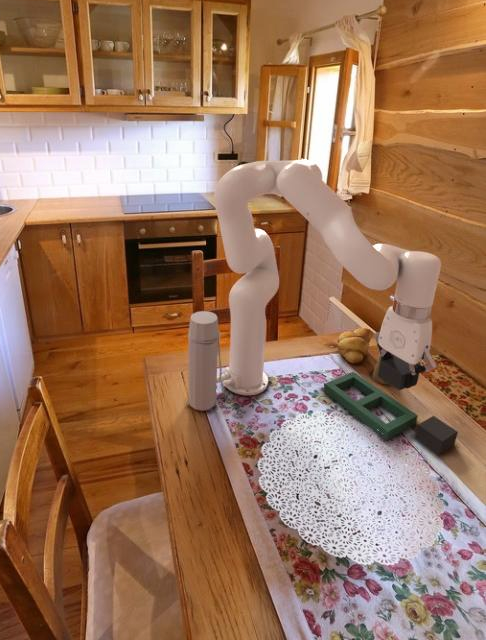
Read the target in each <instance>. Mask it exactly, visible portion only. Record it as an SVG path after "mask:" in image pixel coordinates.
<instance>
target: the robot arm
mask: <svg viewBox="0 0 486 640" xmlns="http://www.w3.org/2000/svg"><path fill="white" fill-rule="evenodd" d="M265 195H281V196H282V197H283V198H284V200H286V202H288V203H289V204H290V205H291V207H293V208H294V209H295V210H296V211H297V212H298V213H299V214H301V216H302V217H304V219H306V220H307V222H309V223H310V224H311V226H312V227H313V228H314V229H315V230H316V231H318V233H319V235H320V236H321V237H322V239H323V241H324V243H325V244H326V246H327V247H328V249H329V250H330V251H331V253H332V255H333V256H334V257H335V259H336V260H337V261H338V263H339V264H340V265H341V266H342V267H343V268H344V269H346V271H347V272H348V273H349V274H350V275H351V276H352V277H353V278H354V279H355V280H357V282H358V283H360V284H361V285H362V286H364V287H366V288H367V289H369V290H373V291H385V290H387V289H389V288H390V287H392V286H393V285H394V284H395V283H396V286H395V293H394V294H391V295H390V296H389V300H390V301H391V302H392V305H391V306H389V307H388V309H387V311H386V313H385V315H384V318H383V319H382V323H381V327H380V330H379V331H377V332H375V333H373V334H372V336H373V338H374V340H375V342H376V344H377V348H378V351H379V350H380V353H379V356H380V355H381V356H382V357H381V361H384V360H386V359H389V358H391V357H393V355H395V356H397V357H398V358H400V359H402V360H404V361H405V362H407V363H409V368H410V372H408V373H407V377H406V382H405V388H404V389H407V390H408V389H410V388H412V387H415V386H417V384H418V380H419V377H420V374H422V373H425V372H428V371H433V370H435V369H436V368H437V364H436V362H435V360H434V358H433V356H432V354H431V352H430V350H431V345H432V339H433V320H432V318H430V317H431V313H432V308H433V304H434V300H435V296H436V290H437V286H438V281H439V277H440V273H441V270H442V269H441V268H442V261H441V259H440V258H439V256H437V255H435V254H433V253H430V252H426V251H420V250H413V251H412V250H408V249H404V248H401V247H398V246H395V245H391V244H387V243H377V244H374V245H373V244H372V243H371V242H370V241H369V239H367V238H366V237H365V235H364V234H363V232H361V230H360V228H359V227H358V225H357V223H356V221H355V218H354V214H353V211H352V209H351V207H350V206H349V204H348V203H347V201H345V200H344V199H343V198H342V197H340V196H339V194H337V193H336V191H334V190H333V189H332V187H330V186H329V185H328V184H327V183H326V182H325V181H324V180H323V172H322V170H321V168H320V167H319V166H318V164H316V163H315V162H313V161H311V160H308V159H296V160H293V159H292V160H257V161H253V162H248V163H244V164H240V165H236V166H235V167H233V168H231V169H230V170H229V171H227V172H226V173H224V174H223V175H222V176H221V178H220V179H219V180H218V181H217V183H216V186H215V189H214V193H213V203H214V208H215V211H216V215H217V220H218V225H219V231H220V235H221V240H222V247H223V250H224V255H225V260H226V263H227V267H229V269H230V270H231V271H232V272H233V273H234V274H235V273H236V274H239V275H243V274H244V275H243V276H242V277H240V278H239V279H238V280H237V281H236V282H235V283H234V284H233V286H232V287H231V289H230V290H229V294H228V305H229V313H230V336H229V337H230V339H229V364H228V366H227V367H225V371H223V372H222V376H221V381H220V382H218V383H217V384H220V383H222V386H223V387H225V388H226V389H227V390H228V391H230V392H232V393H234V394H236V395H241V396H255V395H258V394H261V393H263V392H264V391H265V390H266V389H267V388H268V386H269V377H268V375H267V373H265V372H266V371H264V367H265V355H266V354H265V353H266V338H267V317H266V308H267V307H266V306H267V305H268V303H269V302H271V300H272V299H273V297H274V296H275V295H276V294H277V292H278V290H279V287H280V276H279V275H280V274H279V270H278V264H277V259H276V253H275V247H274V244H273V242H272V239H271V237H270V235H269V234H268V233H266V232H265V230H262V229H260V228H255V222H254V217H253V215H252V214H253V213H252V211H251V210H250V208H249V205H248V204H249V202H251V201H253V200H255V199H257V198H259V197H262V196H265ZM391 353H392V354H391ZM422 360H423V362H424V363H425V364H423V362H422ZM219 375H220V374H217V381H218V380H219Z"/></svg>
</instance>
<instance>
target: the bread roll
mask: <svg viewBox="0 0 486 640" xmlns="http://www.w3.org/2000/svg"><path fill="white" fill-rule="evenodd" d="M371 339H372V332H371V331H370V329H369V328H367V327H360V328H357V329H355V330H354V331H344V332H342V333H341V334H340V335H339V336H338V338H337V350H338V353H339V354H340V355H341V356H342V357H344V358H345V360H346V361H347V362H349V363H351V364H359V363H361V362H362V361H363V359H364V358H365V357H367V355H368V354H369V348H370V342H371Z"/></svg>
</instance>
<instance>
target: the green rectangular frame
mask: <svg viewBox="0 0 486 640" xmlns="http://www.w3.org/2000/svg"><path fill="white" fill-rule="evenodd" d="M350 386H354V387H355V388H357V389H358V390H359V391H360V392H362V393H363V394H364V395H366V396H364V397H362V398H359V399H357V400H355V399H354V398H353V397H352V396H350V395H349V394H348V393H346V392H345V391H344V389H345V388H348V387H350ZM323 392H324V393H326V394H327V395H328V396H329V397H331V399H333V400H334V401H336V402H337V403H338V404H339V405H340V406H342V407H343V408H345V409H346V410H347V411H348V412H350V413H351V414H352V415H353V416H354V417H356V418H357V419H359V420H360V421H361V422H362V423H364V424H365V425H366V426H368V427H369V428H370V429H371V430H373V431H374V432H375V433H376V434H378V435H379V436H380V437H382V438H383V439H384V440H385V441H388V440H389V439H392V438H393V437H395V436H396V435H399V434H400V433H402V432H404V431H406V430H408V429H409V428H411V427H413V426H414V425H416V424H417V421H418V416H419V415H418V414H416V413H415V412H413V411H412V410H411V409H409V408H408V407H406V406H405V405H404V404H402V403H400V402H399V401H397V400H396V399H394V398H393V397H392V396H391V395H389V394H387V393H386V392H384V391H382V390H381V389H380V388H378V387H377V386H375V385H374V384H372V383H371V382H369V381H368V380H366V379H365V378H364V377H362V376H360V375H359V374H358V373H356V372H355V371H350V372H349V373H346V374H343V375H342V376H339V377H336V378H334V379H332V380H330V381H327V382H325V383H324V385H323ZM377 406H382V408H385V410H387V411H389V412H390V413H391V414H393V415H394V416H395V417H396V418H394V419H392V420H390V421H388V422H385V421H384V420H383V419H381V418H379V417H378V416H377V415H375V414H374V413H373V412H372V411H371V409H372V408H375V407H377ZM377 429H378V430H379V431H378V430H377ZM382 433H383V434H382Z"/></svg>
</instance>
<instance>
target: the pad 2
mask: <svg viewBox="0 0 486 640" xmlns="http://www.w3.org/2000/svg"><path fill="white" fill-rule="evenodd" d="M458 433H459V431H458V430H456V429H455V428H453V427H452V426H450V425H449V424H447V423H445V422H444V421H442V420H441V419H439V418H438V417H436V416H435V415H432V416H429V418H427V419H425V420H423V421H422V422H419V423H418V424H417V427H416V431H415V436H414V439H416V440H417V441H418V442H419V443H421V444H422V445H424V446H426V448H428V449H429V450H430V451H432V452H433V453H435V454H436V455H437V456H440V455H442V454H444V453H445V452H447V451H448V450H450V449H451V448H452V447H454V446H455V445H456V440H457V437H458Z"/></svg>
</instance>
